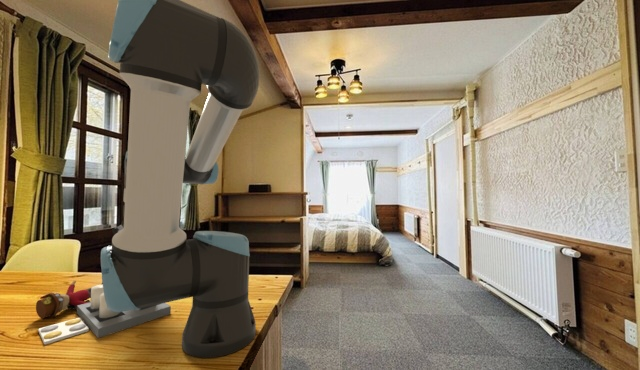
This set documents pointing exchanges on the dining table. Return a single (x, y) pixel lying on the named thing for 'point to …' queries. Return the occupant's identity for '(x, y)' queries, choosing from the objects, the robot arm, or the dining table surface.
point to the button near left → (105, 309)
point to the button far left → (96, 296)
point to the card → (62, 330)
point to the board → (119, 318)
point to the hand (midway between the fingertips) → (136, 285)
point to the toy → (62, 301)
